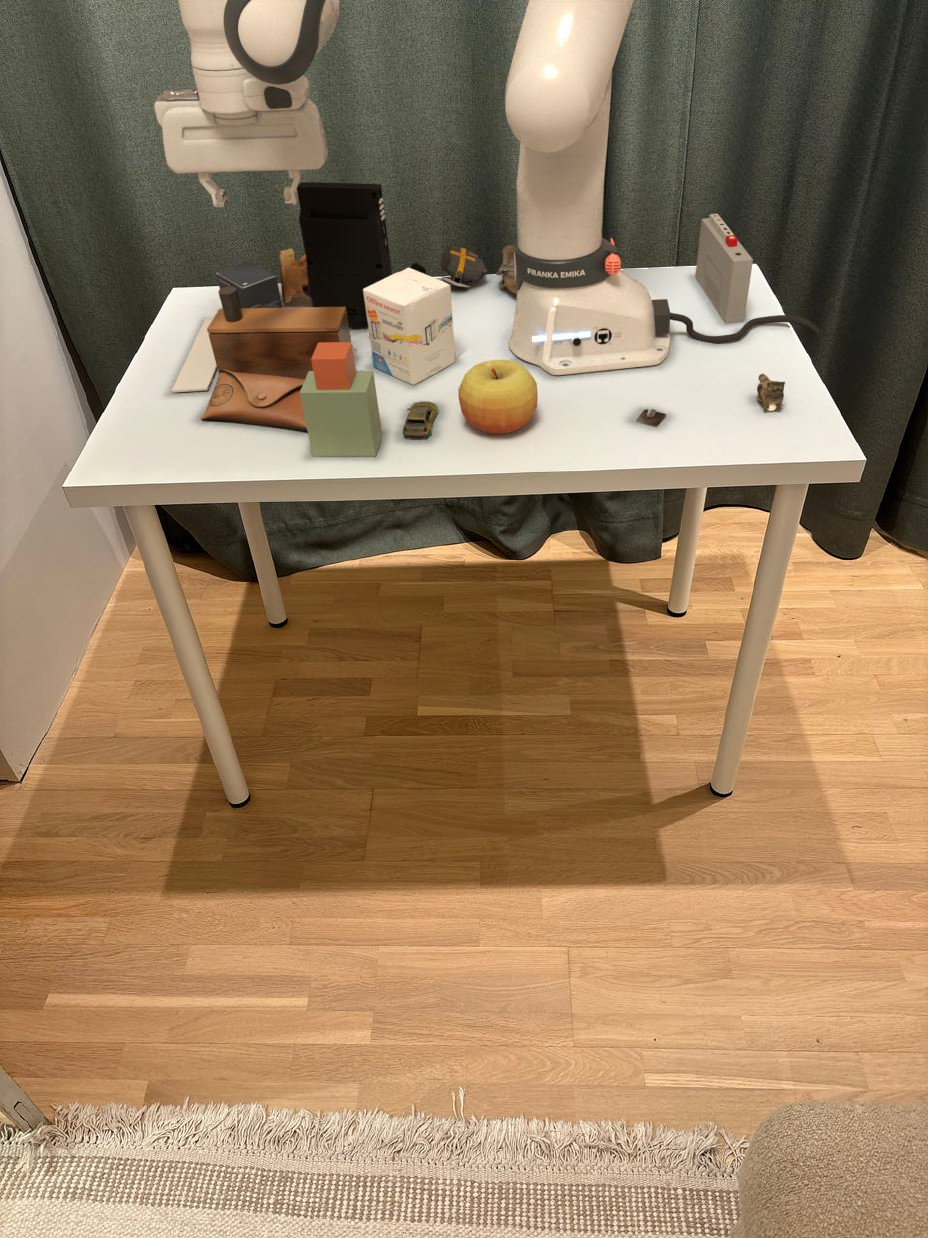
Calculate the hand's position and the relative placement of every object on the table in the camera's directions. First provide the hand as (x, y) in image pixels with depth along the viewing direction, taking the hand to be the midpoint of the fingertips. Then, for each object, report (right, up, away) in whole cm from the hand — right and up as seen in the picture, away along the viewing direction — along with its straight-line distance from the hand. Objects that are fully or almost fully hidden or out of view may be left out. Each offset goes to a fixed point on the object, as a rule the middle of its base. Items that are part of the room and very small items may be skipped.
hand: (256, 204), depth 125 cm
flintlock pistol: (+42, 0, +25) cm, 49 cm away
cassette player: (+65, -7, +17) cm, 68 cm away
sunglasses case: (+2, -27, +2) cm, 27 cm away
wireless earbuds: (+17, 0, +26) cm, 31 cm away
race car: (+22, -29, -2) cm, 37 cm away
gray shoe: (+28, +4, +26) cm, 38 cm away
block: (+12, -26, -11) cm, 31 cm away
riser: (+13, -32, -5) cm, 35 cm away
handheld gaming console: (+11, -10, +19) cm, 24 cm away
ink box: (+20, -19, +9) cm, 29 cm away
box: (-3, -13, +17) cm, 22 cm away
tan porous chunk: (-2, -1, +24) cm, 24 cm away
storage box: (+2, -19, +10) cm, 22 cm away
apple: (+32, -29, -4) cm, 43 cm away
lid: (+2, -14, +5) cm, 15 cm away
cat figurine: (+65, -27, -4) cm, 71 cm away
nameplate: (-10, -16, +15) cm, 24 cm away
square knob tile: (+51, -29, -5) cm, 59 cm away
